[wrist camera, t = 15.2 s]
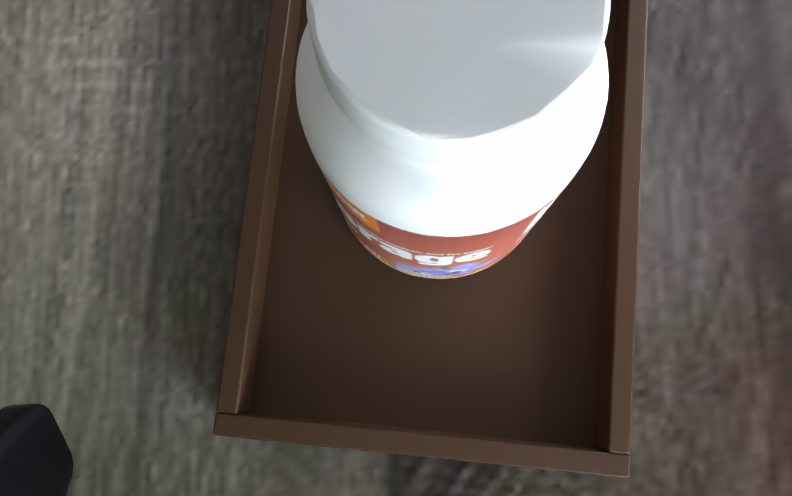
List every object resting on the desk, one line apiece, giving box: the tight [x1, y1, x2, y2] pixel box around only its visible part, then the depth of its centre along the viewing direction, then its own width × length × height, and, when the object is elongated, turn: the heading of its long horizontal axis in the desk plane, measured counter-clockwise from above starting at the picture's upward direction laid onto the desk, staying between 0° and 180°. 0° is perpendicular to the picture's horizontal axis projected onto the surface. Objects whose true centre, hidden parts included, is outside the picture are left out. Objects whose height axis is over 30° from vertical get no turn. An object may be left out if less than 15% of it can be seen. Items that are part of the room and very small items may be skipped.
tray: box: [213, 0, 648, 478], centre depth 21 cm, size 16×11×2 cm
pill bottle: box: [295, 0, 610, 279], centre depth 16 cm, size 6×6×11 cm
